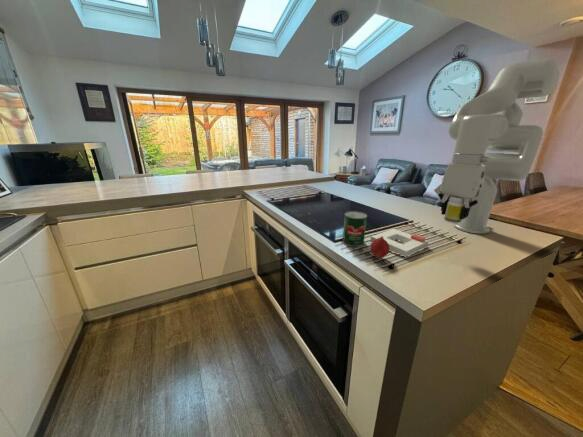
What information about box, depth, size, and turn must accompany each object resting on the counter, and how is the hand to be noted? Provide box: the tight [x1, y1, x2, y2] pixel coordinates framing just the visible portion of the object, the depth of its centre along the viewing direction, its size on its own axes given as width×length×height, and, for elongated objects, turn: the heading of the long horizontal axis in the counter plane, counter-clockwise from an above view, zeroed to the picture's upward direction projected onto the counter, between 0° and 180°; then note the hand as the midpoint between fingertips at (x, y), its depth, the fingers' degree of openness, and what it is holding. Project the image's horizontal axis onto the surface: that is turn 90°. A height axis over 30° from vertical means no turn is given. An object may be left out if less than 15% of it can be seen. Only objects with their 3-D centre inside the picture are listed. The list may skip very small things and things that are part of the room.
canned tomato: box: [342, 210, 368, 247], centre depth 87 cm, size 8×8×11 cm
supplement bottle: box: [443, 195, 465, 224], centre depth 76 cm, size 5×5×8 cm
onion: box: [370, 236, 390, 260], centre depth 76 cm, size 6×6×8 cm
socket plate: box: [369, 228, 430, 256], centre depth 86 cm, size 14×14×4 cm
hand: (453, 215), depth 77 cm, fingers closed on supplement bottle, 4 cm apart
